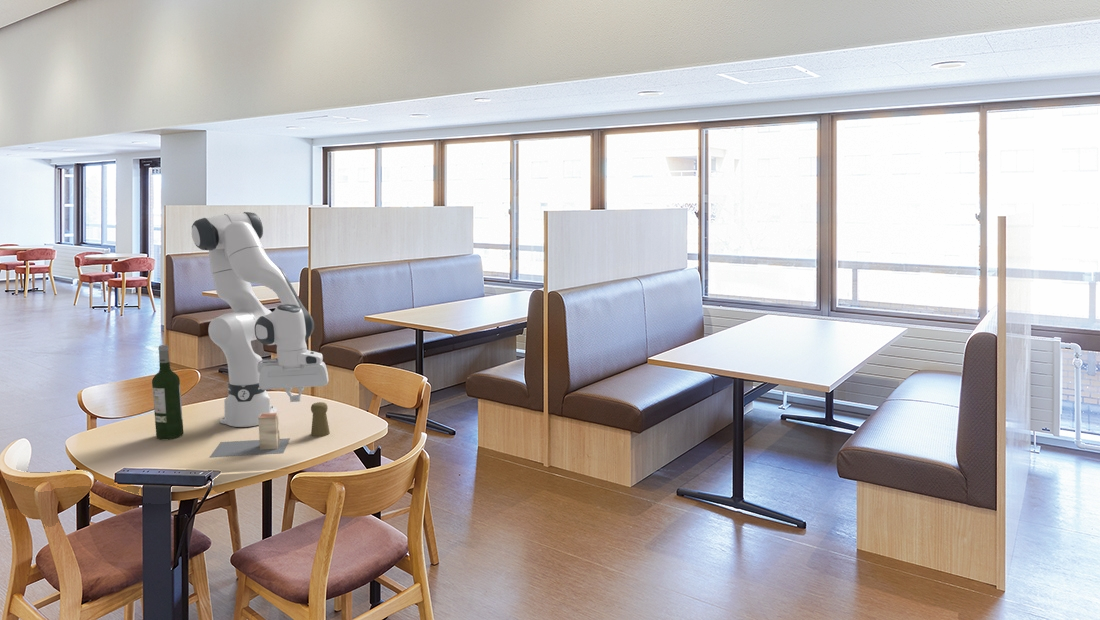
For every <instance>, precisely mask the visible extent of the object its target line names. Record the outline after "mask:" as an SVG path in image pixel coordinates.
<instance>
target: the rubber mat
mask: <svg viewBox="0 0 1100 620" xmlns="http://www.w3.org/2000/svg"><path fill="white" fill-rule="evenodd" d="M290 440H291V438H289V437H288V438H280V444H279V446H278V448H277V449H262V450H260V440H259V439H253V440H251V439H250V440H235V441H220V442H219V444H218V445H217V447H215V449H214V450H213V451H212V453H211V455H210V456H209V458H225V457H238V456H239V457H243V456H259V455H260V456H261V455H277V454H278V455H279V454H284V452H285V450H286V449H287V448H288V447H287V446H288V444H289V442H290Z"/></svg>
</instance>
